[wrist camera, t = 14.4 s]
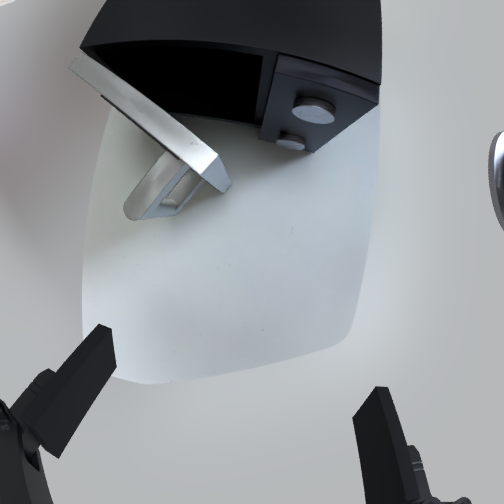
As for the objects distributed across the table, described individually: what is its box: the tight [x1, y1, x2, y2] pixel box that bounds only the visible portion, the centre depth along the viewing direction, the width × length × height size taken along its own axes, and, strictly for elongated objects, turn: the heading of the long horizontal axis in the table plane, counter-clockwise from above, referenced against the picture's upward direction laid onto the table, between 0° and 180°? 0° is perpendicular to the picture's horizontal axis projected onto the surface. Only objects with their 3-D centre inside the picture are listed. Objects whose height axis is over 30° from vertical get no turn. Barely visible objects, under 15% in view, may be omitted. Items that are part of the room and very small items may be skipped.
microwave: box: [80, 0, 382, 153], centre depth 21 cm, size 22×22×18 cm
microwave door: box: [68, 52, 232, 220], centre depth 23 cm, size 7×15×18 cm, turn 48°
